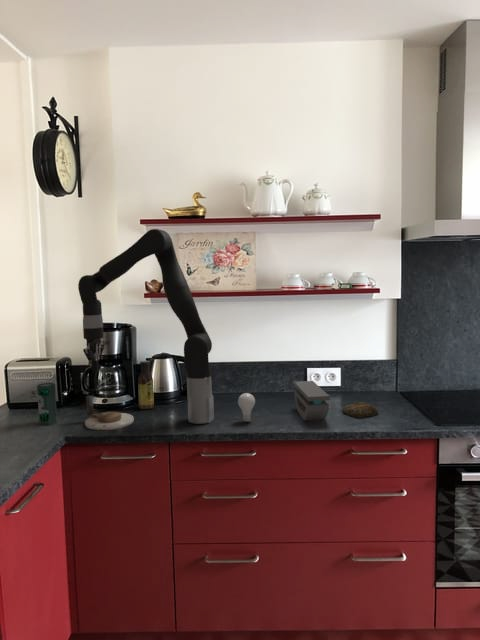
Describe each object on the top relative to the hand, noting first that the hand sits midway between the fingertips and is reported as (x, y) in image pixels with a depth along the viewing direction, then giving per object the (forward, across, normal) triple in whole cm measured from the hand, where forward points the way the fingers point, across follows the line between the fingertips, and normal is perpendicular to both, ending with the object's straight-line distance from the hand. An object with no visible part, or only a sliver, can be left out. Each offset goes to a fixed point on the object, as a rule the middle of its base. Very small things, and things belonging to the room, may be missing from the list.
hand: (95, 370), depth 197 cm
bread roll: (+19, +20, -102) cm, 106 cm away
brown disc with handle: (+18, -6, -6) cm, 19 cm away
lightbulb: (+19, +3, -60) cm, 63 cm away
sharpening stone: (+19, +14, -83) cm, 86 cm away
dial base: (+19, -6, -8) cm, 22 cm away
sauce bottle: (+19, +16, -14) cm, 29 cm away
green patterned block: (+19, -9, +16) cm, 27 cm away
